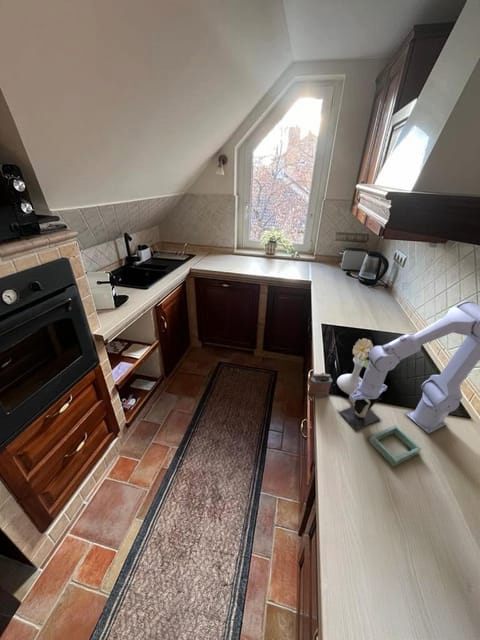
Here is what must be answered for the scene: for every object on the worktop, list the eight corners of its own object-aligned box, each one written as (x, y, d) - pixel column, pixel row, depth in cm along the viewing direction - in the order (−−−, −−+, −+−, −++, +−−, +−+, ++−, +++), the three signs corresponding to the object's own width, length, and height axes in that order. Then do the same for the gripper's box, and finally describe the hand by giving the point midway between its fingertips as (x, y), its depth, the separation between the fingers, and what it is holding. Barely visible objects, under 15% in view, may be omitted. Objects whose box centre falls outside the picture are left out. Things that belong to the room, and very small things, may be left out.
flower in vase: (335, 375, 107) (349, 325, 95) (364, 381, 105) (383, 330, 92) (337, 398, 96) (353, 344, 84) (369, 405, 94) (391, 350, 81)
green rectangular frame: (393, 430, 85) (395, 425, 83) (418, 453, 78) (421, 448, 76) (369, 441, 81) (371, 436, 80) (393, 466, 74) (396, 461, 73)
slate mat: (362, 403, 94) (362, 402, 94) (379, 419, 88) (379, 418, 88) (339, 412, 90) (339, 411, 90) (355, 430, 84) (355, 428, 84)
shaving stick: (360, 408, 90) (364, 395, 87) (367, 415, 88) (372, 402, 84) (352, 411, 89) (357, 398, 86) (360, 418, 86) (365, 405, 83)
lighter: (326, 390, 99) (331, 371, 94) (329, 397, 96) (335, 377, 92) (306, 390, 99) (310, 371, 94) (308, 397, 96) (313, 377, 91)
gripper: (379, 367, 86) (367, 395, 93) (346, 378, 81) (337, 407, 88) (397, 380, 81) (384, 410, 88) (363, 393, 76) (352, 423, 83)
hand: (361, 409), depth 88 cm, fingers closed on shaving stick, 3 cm apart
